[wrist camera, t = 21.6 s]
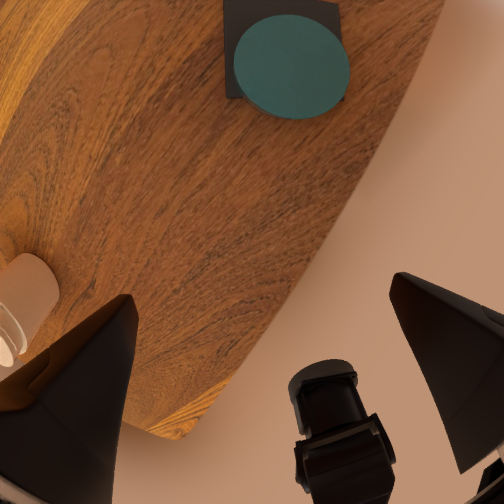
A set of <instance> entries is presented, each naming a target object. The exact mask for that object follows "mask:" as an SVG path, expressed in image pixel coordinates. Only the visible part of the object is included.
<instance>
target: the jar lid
mask: <svg viewBox="0 0 504 504" xmlns="http://www.w3.org/2000/svg"><path fill="white" fill-rule="evenodd" d="M233 76H234V80H235V83H236V86H237V88H238V90H239V92H240V94H241V95H242V96H243V98H244V99H245V100H246V101H247V102H248V103H249V104H250V105H251V106H252V107H254V108H255V109H257V110H258V111H260V112H262V113H264V114H266V115H268V116H271V117H274V118H279V119H307V118H312V117H316V116H319V115H321V114H324V113H325V112H327V111H329V110H330V109H332V108H333V107H334V106H335V105H336V104H337V103H338V102H339V101H340V100H341V98H342V97H343V95H344V93H345V92H346V89H347V87H348V83H349V78H350V66H349V61H348V57H347V54H346V51H345V49H344V48H343V46H342V44H341V43H340V41H339V40H338V39H337V37H336V36H335V35H334V34H333V33H332V32H331V31H330V30H328V29H327V28H326V27H324V26H323V25H321V24H320V23H318V22H316V21H314V20H311V19H309V18H306V17H302V16H297V15H276V16H271V17H268V18H265V19H263V20H261V21H258V22H257V23H255V24H254V25H252V26H251V27H250V28H249V29H248V30H246V32H245V33H244V34H243V35H242V37H241V38H240V40H239V42H238V44H237V46H236V49H235V54H234V61H233Z"/></svg>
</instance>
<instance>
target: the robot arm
mask: <svg viewBox="0 0 504 504" xmlns="http://www.w3.org/2000/svg"><path fill="white" fill-rule="evenodd" d="M389 297H390V301H391V303H392V305H393V308H394V310H395V313H396V315H397V318H398V320H399V323H400V326H401V328H402V331H403V333H404V335H405V337H406V339H407V341H408V343H409V345H410V347H411V349H412V351H413V353H414V356H415V358H416V360H417V362H418V364H419V366H420V368H421V371H422V373H423V375H424V377H425V380H426V382H427V384H428V387H429V389H430V391H431V393H432V396H433V398H434V401H435V403H436V406H437V408H438V411H439V413H440V416H441V419H442V421H443V424H444V426H445V430H446V433H447V435H448V438H449V441H450V444H451V447H452V450H453V453H454V456H455V460H456V463H457V466H458V469H459V472H460V474H462V473H464V472H466V471H467V470H469V469H470V468H472V467H473V466H475V465H476V464H477V463H479V462H480V461H482V460H483V459H484V458H486V457H487V456H488V455H490V454H491V453H492V452H494V451H495V450H497V451H498V454H499V456H500V458H498V459H497V460H496V461H495V462H493V463H492V464H491V465H490V466H488V467H487V468H485V469H484V472H483V475H482V479H481V482H480V485H479V488H478V492H477V494H476V496H474V497H473V498H472V499H470V500H469V501H467V502H466V503H465V504H504V315H503V314H501V313H498V312H496V311H494V310H492V309H489V308H487V307H485V306H483V305H482V306H481V305H480V304H478V303H476V302H474V301H471V300H469V299H467V298H465V297H463V296H460V295H458V294H456V293H454V292H451V291H449V290H447V289H444V288H442V287H440V286H437V285H435V284H433V283H430V282H428V281H425V280H423V279H421V278H418V277H416V276H414V275H411V274H409V273H406V272H400V273H396V274H395V275H394V277H393V280H392V284H391V288H390V292H389ZM138 322H139V316H138V312H137V309H136V306H135V303H134V299H133V297H132V295H130V294H120V295H118V296H117V297H115V298H114V299H113V300H111V301H110V302H108V303H107V304H106V305H104V306H103V307H101V308H100V309H99V310H97V311H96V312H95V313H93V314H92V315H90V316H89V317H88V318H86V319H85V320H84V321H82V322H81V323H80V324H78V325H77V326H76V327H74V328H73V329H72V330H70V331H69V332H68V333H66V334H65V335H64V336H62V337H61V338H60V339H58V340H57V341H56V342H55V343H53V344H52V345H51V346H50V347H49V348H47V349H45V350H44V351H43V352H42V353H40V354H39V355H38V356H36V357H35V358H34V359H32V360H31V361H30V362H28V363H27V364H25V365H24V366H23V367H21V368H20V369H18V370H17V371H15V372H14V373H13V374H11V375H10V376H8V377H7V378H5V379H4V380H2V381H1V382H0V504H112V493H113V482H114V471H115V461H116V454H117V446H118V440H119V433H120V427H121V421H122V415H123V409H124V404H125V399H126V393H127V388H128V384H129V379H130V374H131V370H132V365H133V360H134V354H135V345H136V337H137V329H138ZM356 378H357V373H356V371H352V372H347V373H342V374H337V375H332V376H326V377H320V378H314V379H308V380H303V381H301V382H300V386H299V392H298V394H297V395H296V396H295V402H294V410H295V415H296V419H297V424H298V428H299V433H300V434H301V435H305V436H306V440H302V441H300V440H299V441H296V447H295V448H294V452H295V457H296V477H295V479H296V482H297V483H298V484H300V485H302V487H303V489H304V491H305V492H306V493H307V494H309V493H311V496H312V499H313V503H314V504H388V501H389V498H390V495H391V492H392V489H393V486H394V482H395V476H394V473H393V470H392V467H391V465H392V464H395V463H396V458H395V453H394V450H393V447H392V445H391V442H390V440H389V438H388V436H387V434H386V431H385V430H384V427H383V426H382V423H381V421H380V420H379V418H378V416H377V414H376V413H374V414H372V415H371V416H369V417H368V416H367V413H366V411H365V408H364V406H363V404H362V401H361V399H360V396H359V394H358V392H357V389H356V387H355V384H354V383H355V381H356ZM373 434H374V435H373Z"/></svg>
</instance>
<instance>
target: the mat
mask: <svg viewBox="0 0 504 504" xmlns="http://www.w3.org/2000/svg"><path fill="white" fill-rule="evenodd" d="M223 9H224V50H225V80H226V98H243V96H242V95H241V94H240V92H239V90H238V88H237V86H236V83H235V80H234V76H233V61H234V54H235V49H236V46H237V44H238V42H239V40H240V38H241V37H242V35H243V34H244V33H245V32H246V30H248V29H249V28H250V27H251V26H252V25H254V24H255V23H257V22H258V21H261V20H263V19H265V18H268V17H271V16H276V15H297V16H302V17H306V18H309V19H311V20H314V21H316V22H318V23H320V24H321V25H323V26H324V27H326V28H327V29H328V30H330V31H331V32H332V33H333V34H334V35H335V36H336V37H337V39H338V40H339V41H340V43H341V44H342V40H341V28H340V18H339V9H338V4H336V3H330V2H324V1H318V0H223ZM340 101H344V95H343V97H342V98H341V100H340Z"/></svg>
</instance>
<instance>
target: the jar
mask: <svg viewBox="0 0 504 504" xmlns="http://www.w3.org/2000/svg"><path fill="white" fill-rule="evenodd" d="M59 293H60V292H59V286H58V283H57V280H56V278H55V276H54V274H53V272H52V271H51V269H50V268H49V267H48V266H47V264H46V263H45V262H44V261H43V260H41V259H40V258H39V257H37V256H35V255H33V254H30V253H22V254H19V255H18V256H17V257H15V258H14V259H13V260H12V261H11V262H10V263H9V264H8V265H7V266H6V267H5V268H4V269H3V270H1V271H0V365H2V366H5V367H10V366H12V365H13V363H14V362H15V360H16V358H17V357H18V355H19V354H23V353H25V352H26V350H27V349H28V347H29V345H30V344H31V342H32V341H33V339H34V337H35V336H36V334H37V333H38V331H39V330H40V328H41V326H42V325H43V323H44V322H45V320H46V319H47V317H48V316H49V314H50V313H51V312H52V310H53V309H54V307H55V306H56V304H57V303H58V300H59Z"/></svg>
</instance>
